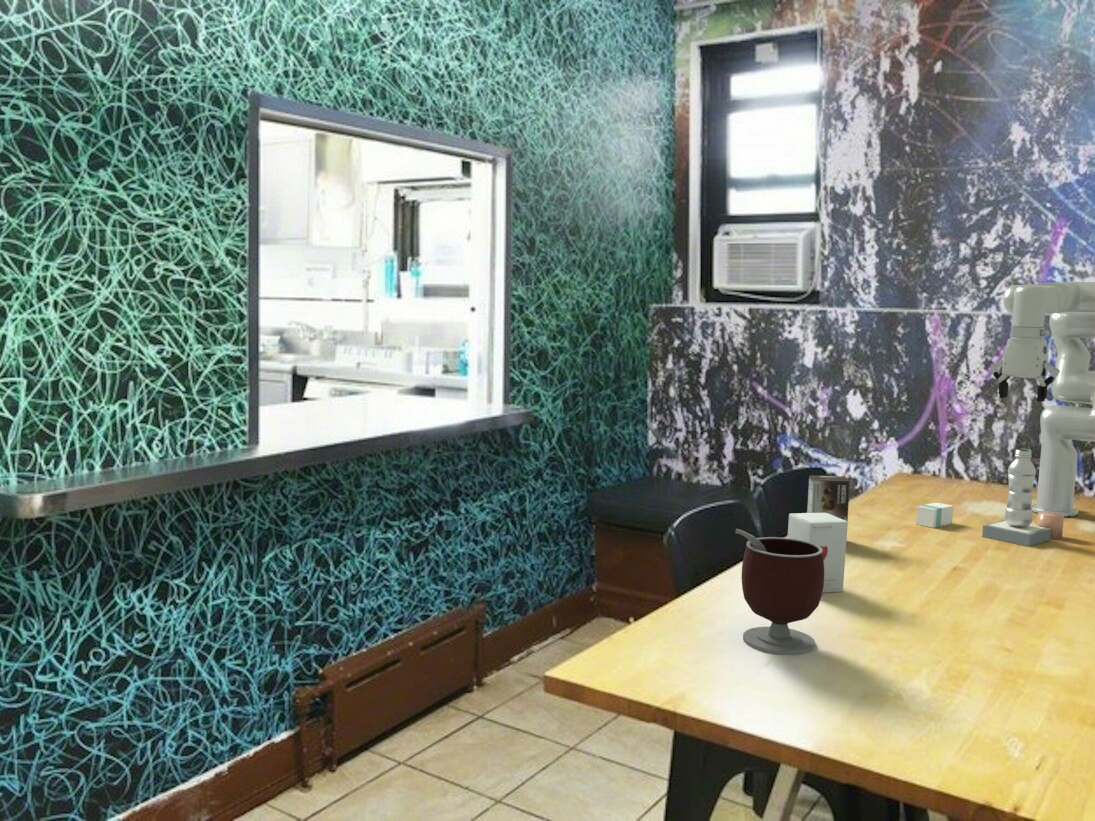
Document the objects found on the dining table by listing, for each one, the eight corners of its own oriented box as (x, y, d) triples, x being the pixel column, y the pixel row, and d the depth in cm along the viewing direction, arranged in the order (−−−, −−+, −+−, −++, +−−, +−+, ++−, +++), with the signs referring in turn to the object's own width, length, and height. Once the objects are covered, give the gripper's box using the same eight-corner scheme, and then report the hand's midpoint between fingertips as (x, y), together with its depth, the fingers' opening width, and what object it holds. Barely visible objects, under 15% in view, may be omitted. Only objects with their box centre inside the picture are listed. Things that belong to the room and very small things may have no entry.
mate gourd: (806, 629, 177) (812, 521, 174) (830, 657, 163) (838, 540, 161) (721, 627, 176) (727, 519, 174) (738, 655, 162) (745, 538, 160)
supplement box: (805, 594, 198) (809, 522, 196) (783, 581, 206) (787, 512, 205) (844, 592, 200) (849, 521, 198) (821, 579, 209) (825, 511, 207)
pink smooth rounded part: (1042, 532, 260) (1044, 510, 259) (1065, 537, 255) (1068, 515, 254) (1032, 535, 256) (1034, 513, 255) (1055, 540, 251) (1058, 517, 250)
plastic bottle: (1037, 529, 249) (1043, 452, 246) (1010, 529, 249) (1017, 451, 246) (1024, 523, 255) (1030, 448, 253) (998, 523, 255) (1004, 447, 253)
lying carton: (934, 520, 271) (936, 502, 271) (952, 523, 268) (953, 505, 267) (915, 524, 265) (917, 506, 265) (933, 528, 261) (934, 509, 261)
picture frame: (1004, 530, 260) (1005, 519, 260) (1050, 540, 251) (1051, 528, 251) (982, 536, 253) (983, 524, 253) (1028, 546, 244) (1029, 534, 243)
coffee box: (841, 538, 246) (845, 476, 244) (846, 545, 240) (851, 480, 238) (804, 536, 247) (808, 474, 245) (809, 543, 240) (813, 479, 239)
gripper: (1068, 335, 248) (1062, 401, 250) (1000, 332, 261) (995, 395, 263) (1055, 336, 243) (1050, 403, 245) (987, 332, 256) (982, 397, 258)
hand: (1021, 399), depth 254 cm, fingers open, 9 cm apart
